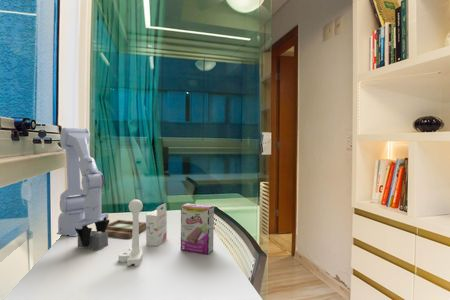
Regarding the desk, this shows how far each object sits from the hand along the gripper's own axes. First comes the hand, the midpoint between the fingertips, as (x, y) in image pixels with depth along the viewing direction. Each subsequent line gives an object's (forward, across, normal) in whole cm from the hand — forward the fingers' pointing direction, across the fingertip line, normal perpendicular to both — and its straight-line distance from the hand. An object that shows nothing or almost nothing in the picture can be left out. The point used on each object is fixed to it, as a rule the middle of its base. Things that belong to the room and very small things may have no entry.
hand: (93, 242), depth 105 cm
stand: (+1, +18, -1) cm, 18 cm away
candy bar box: (+2, +8, -38) cm, 39 cm away
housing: (+2, 0, 0) cm, 2 cm away
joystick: (+2, -6, -20) cm, 21 cm away
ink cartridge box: (+2, +11, -20) cm, 23 cm away
